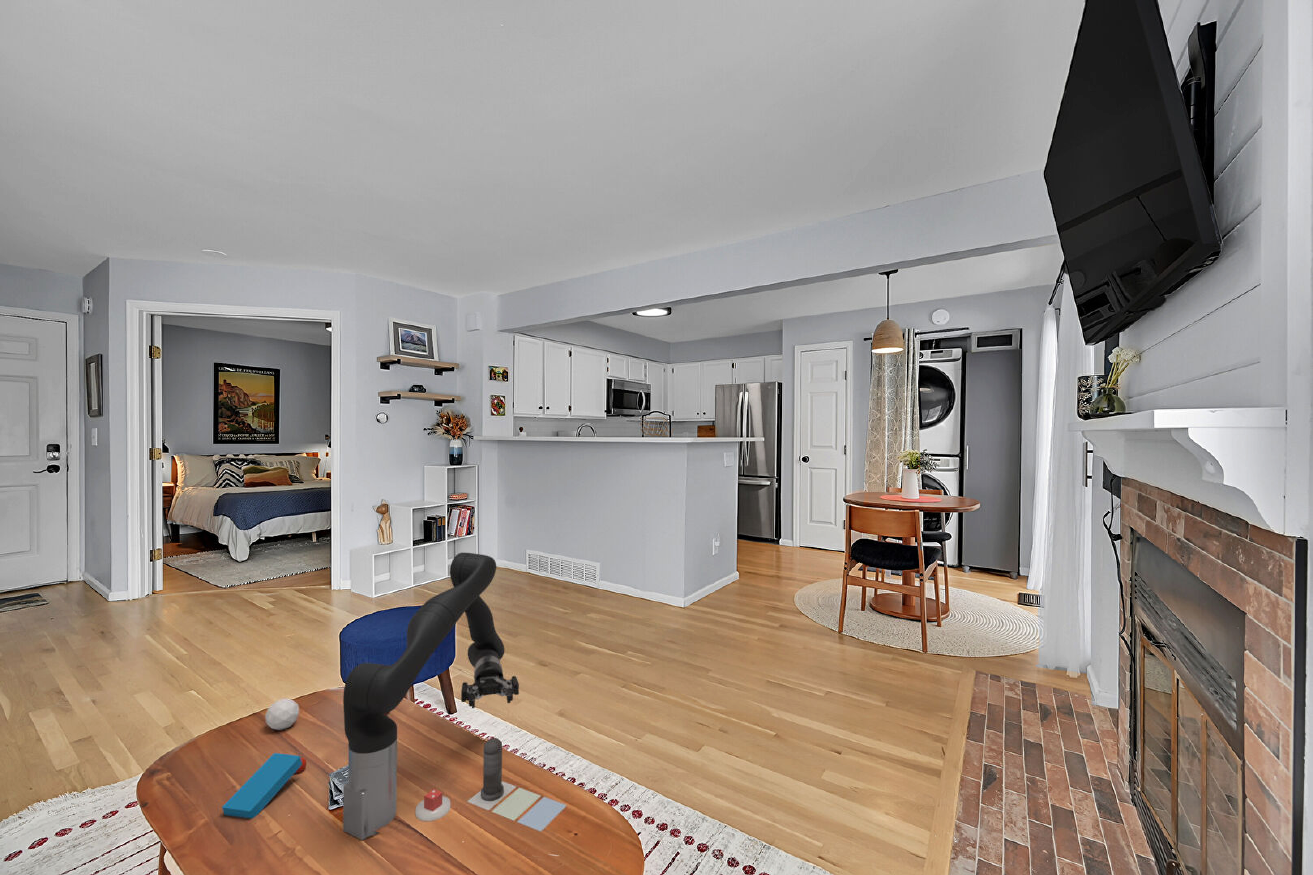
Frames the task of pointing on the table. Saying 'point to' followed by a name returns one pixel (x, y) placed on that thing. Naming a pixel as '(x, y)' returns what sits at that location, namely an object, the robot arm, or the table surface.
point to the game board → (522, 807)
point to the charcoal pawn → (492, 771)
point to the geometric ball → (282, 714)
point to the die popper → (433, 806)
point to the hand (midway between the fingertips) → (491, 701)
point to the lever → (263, 785)
